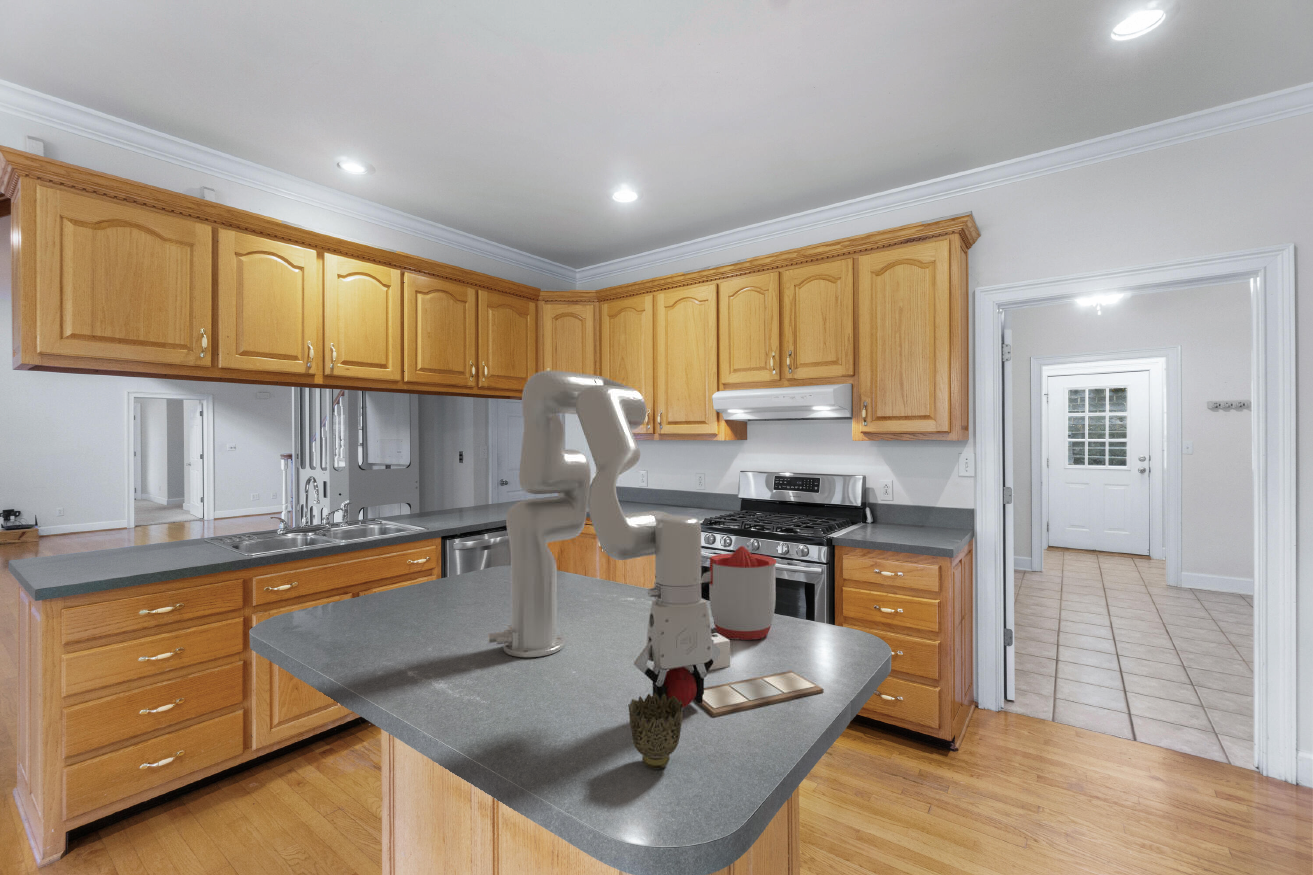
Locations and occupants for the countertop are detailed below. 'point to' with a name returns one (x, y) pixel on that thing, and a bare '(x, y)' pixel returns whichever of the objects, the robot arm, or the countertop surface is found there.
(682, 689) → the onion
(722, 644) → the die
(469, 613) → the countertop surface
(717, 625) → the citrus juicer
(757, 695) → the brown flat rectangular frame
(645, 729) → the cup
